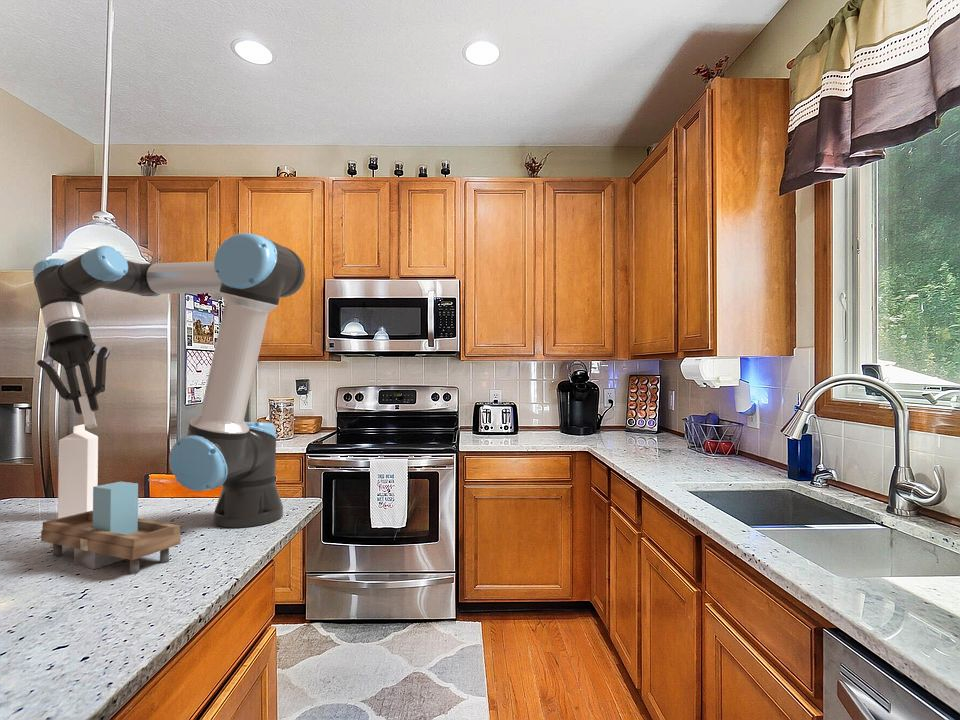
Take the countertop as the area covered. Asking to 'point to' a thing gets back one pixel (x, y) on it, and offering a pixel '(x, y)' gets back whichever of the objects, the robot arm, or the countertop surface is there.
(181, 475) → the robot arm
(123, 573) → the countertop surface
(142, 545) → the long brown tray
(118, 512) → the block
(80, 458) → the milk
